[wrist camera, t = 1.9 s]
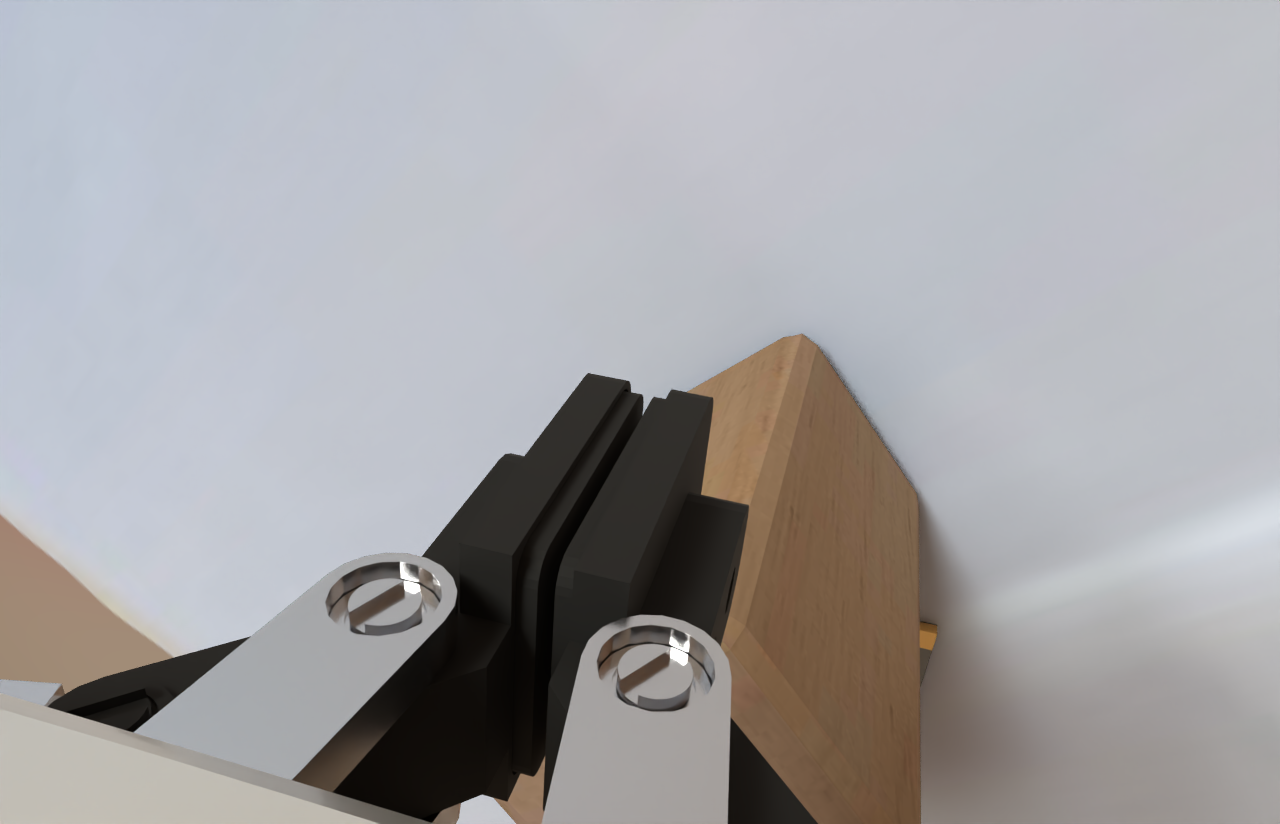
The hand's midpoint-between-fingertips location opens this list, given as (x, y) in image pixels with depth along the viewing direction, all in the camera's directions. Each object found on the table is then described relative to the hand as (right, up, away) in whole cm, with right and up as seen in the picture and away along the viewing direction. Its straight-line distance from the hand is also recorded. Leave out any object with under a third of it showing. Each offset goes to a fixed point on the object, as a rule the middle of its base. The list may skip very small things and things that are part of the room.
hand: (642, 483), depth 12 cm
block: (+6, -1, +29) cm, 30 cm away
